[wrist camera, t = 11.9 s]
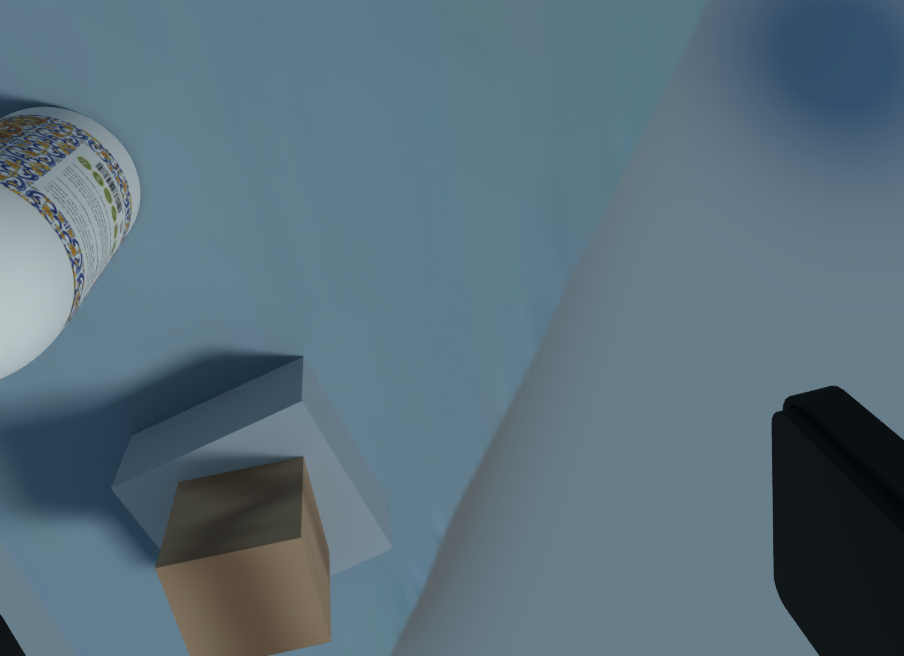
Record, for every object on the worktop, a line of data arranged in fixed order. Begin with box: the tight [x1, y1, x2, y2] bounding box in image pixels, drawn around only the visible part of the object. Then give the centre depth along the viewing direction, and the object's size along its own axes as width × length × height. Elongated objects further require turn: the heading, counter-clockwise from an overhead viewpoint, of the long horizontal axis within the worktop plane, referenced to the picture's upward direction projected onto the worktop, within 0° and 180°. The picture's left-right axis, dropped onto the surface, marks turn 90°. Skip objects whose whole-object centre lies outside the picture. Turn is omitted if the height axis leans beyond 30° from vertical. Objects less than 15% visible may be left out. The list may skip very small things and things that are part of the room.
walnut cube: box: [155, 457, 331, 656], centre depth 37 cm, size 6×6×6 cm
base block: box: [111, 356, 393, 576], centre depth 42 cm, size 10×10×5 cm
